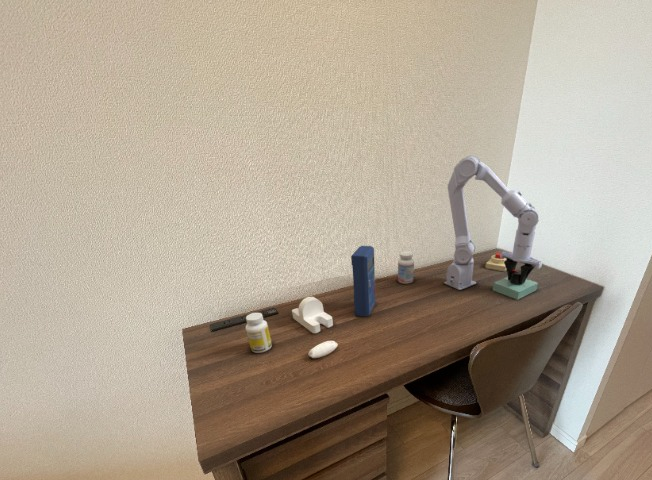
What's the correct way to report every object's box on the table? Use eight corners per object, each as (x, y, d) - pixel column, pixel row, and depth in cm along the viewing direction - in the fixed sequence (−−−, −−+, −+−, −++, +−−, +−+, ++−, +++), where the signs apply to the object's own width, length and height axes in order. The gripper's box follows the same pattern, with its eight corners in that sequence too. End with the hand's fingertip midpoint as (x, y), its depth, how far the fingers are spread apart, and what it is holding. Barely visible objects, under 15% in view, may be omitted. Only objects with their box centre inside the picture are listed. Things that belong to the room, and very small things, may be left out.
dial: (524, 282, 114) (526, 271, 112) (517, 285, 111) (519, 274, 110) (514, 279, 116) (516, 268, 114) (507, 282, 114) (509, 271, 112)
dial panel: (517, 299, 109) (519, 291, 107) (492, 290, 116) (493, 282, 114) (536, 290, 115) (538, 282, 114) (511, 281, 122) (513, 273, 121)
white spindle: (307, 357, 82) (306, 348, 81) (333, 345, 87) (332, 336, 85) (313, 363, 80) (312, 353, 79) (340, 350, 85) (339, 341, 83)
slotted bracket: (334, 325, 96) (331, 302, 92) (314, 334, 92) (310, 310, 88) (311, 310, 104) (308, 288, 101) (292, 317, 100) (288, 295, 97)
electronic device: (369, 317, 100) (367, 256, 91) (354, 315, 101) (350, 255, 92) (376, 303, 108) (374, 246, 99) (361, 302, 109) (358, 245, 100)
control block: (504, 271, 131) (506, 262, 129) (485, 268, 135) (486, 259, 133) (510, 264, 138) (512, 255, 137) (492, 260, 142) (493, 252, 141)
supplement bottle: (264, 339, 90) (258, 309, 85) (276, 346, 86) (269, 315, 82) (247, 348, 86) (238, 317, 81) (258, 356, 83) (250, 323, 78)
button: (502, 260, 133) (503, 256, 132) (494, 258, 135) (494, 254, 134) (505, 257, 136) (505, 253, 135) (496, 256, 137) (497, 252, 136)
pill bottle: (395, 279, 125) (395, 252, 120) (408, 276, 128) (409, 249, 123) (402, 285, 120) (402, 257, 115) (416, 282, 123) (417, 254, 118)
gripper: (550, 247, 105) (541, 285, 111) (510, 237, 115) (505, 272, 121) (538, 251, 101) (530, 290, 107) (499, 241, 111) (493, 277, 117)
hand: (516, 281), depth 114 cm, fingers closed on dial, 4 cm apart
